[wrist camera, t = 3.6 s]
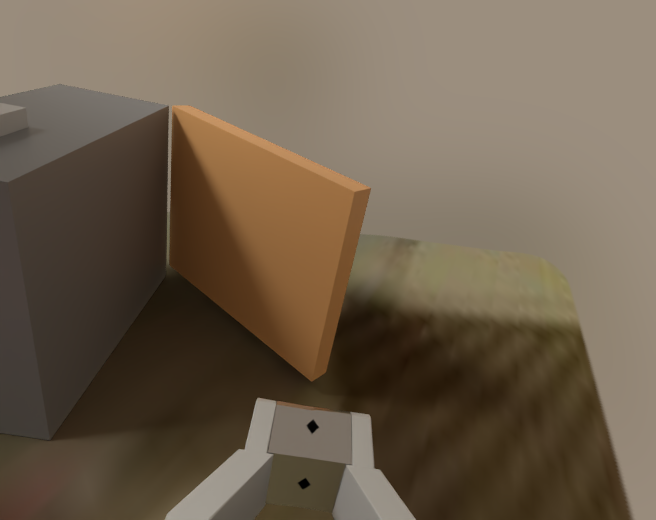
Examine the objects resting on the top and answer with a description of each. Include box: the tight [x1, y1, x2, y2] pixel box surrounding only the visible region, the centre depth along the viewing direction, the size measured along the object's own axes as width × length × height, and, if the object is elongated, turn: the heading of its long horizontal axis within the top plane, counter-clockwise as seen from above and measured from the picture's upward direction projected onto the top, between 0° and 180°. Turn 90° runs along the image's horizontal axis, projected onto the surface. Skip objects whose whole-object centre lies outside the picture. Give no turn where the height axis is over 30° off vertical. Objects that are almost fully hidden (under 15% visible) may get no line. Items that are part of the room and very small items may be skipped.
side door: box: [169, 106, 371, 382], centre depth 33 cm, size 3×18×14 cm, turn 48°
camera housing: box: [0, 84, 169, 440], centre depth 29 cm, size 8×19×16 cm, turn 178°
